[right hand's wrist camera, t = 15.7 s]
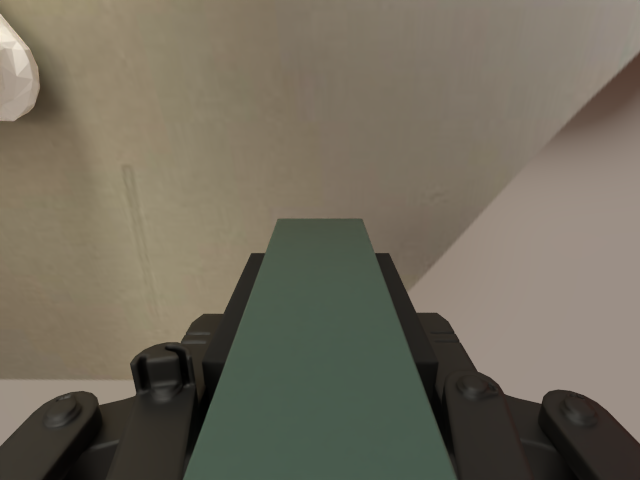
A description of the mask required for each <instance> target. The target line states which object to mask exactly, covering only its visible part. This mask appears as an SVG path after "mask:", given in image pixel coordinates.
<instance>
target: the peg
mask: <svg viewBox="0 0 640 480" xmlns="http://www.w3.org/2000/svg"><path fill="white" fill-rule="evenodd" d="M183 480H458V479H457V476H456V474H455V471H454V468H453V465H452V463H451V460H450V457H449V455H448V452H447V449H446V446H445V444H444V441H443V438H442V435H441V433H440V430H439V427H438V425H437V422H436V419H435V416H434V414H433V411H432V408H431V405H430V403H429V400H428V397H427V394H426V392H425V389H424V386H423V384H422V381H421V378H420V375H419V373H418V370H417V367H416V364H415V362H414V359H413V356H412V353H411V351H410V348H409V345H408V343H407V340H406V337H405V334H404V332H403V329H402V326H401V323H400V321H399V318H398V315H397V313H396V310H395V307H394V304H393V302H392V299H391V296H390V293H389V291H388V288H387V285H386V282H385V280H384V277H383V274H382V272H381V269H380V266H379V263H378V261H377V258H376V255H375V252H374V250H373V247H372V244H371V241H370V239H369V236H368V233H367V231H366V228H365V225H364V222H363V220H362V219H278V220H277V223H276V226H275V228H274V231H273V234H272V237H271V239H270V242H269V245H268V248H267V250H266V253H265V256H264V259H263V261H262V264H261V267H260V269H259V272H258V275H257V278H256V280H255V283H254V286H253V289H252V291H251V294H250V297H249V300H248V302H247V305H246V308H245V311H244V313H243V316H242V319H241V322H240V324H239V327H238V330H237V333H236V335H235V338H234V341H233V344H232V346H231V349H230V352H229V355H228V357H227V360H226V363H225V366H224V368H223V371H222V374H221V377H220V379H219V382H218V385H217V387H216V390H215V393H214V396H213V398H212V401H211V404H210V407H209V409H208V412H207V415H206V418H205V420H204V423H203V426H202V429H201V431H200V434H199V437H198V440H197V442H196V445H195V448H194V451H193V453H192V456H191V459H190V462H189V464H188V467H187V470H186V473H185V475H184V478H183Z"/></svg>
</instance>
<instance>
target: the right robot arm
mask: <svg viewBox="0 0 640 480" xmlns="http://www.w3.org/2000/svg"><path fill="white" fill-rule="evenodd" d="M375 255H376V258H377V261H378V263H379V266H380V269H381V272H382V274H383V277H384V280H385V282H386V285H387V288H388V291H389V293H390V296H391V299H392V302H393V304H394V307H395V310H396V313H397V315H398V318H399V321H400V323H401V326H402V329H403V332H404V334H405V337H406V340H407V343H408V345H409V348H410V351H411V353H412V356H413V359H414V362H415V364H416V367H417V370H418V373H419V375H420V378H421V381H422V384H423V386H424V389H425V392H426V394H427V397H428V400H429V403H430V405H431V408H432V411H433V414H434V416H435V419H436V422H437V425H438V427H439V430H440V433H441V435H442V438H443V441H444V444H445V446H446V449H447V452H448V455H449V457H450V460H451V463H452V465H453V468H454V471H455V474H456V476H457V479H458V480H640V444H639V443H638V442H637V441H636V440H635V439H634V438H633V437H632V435H631V434H630V433H629V432H628V431H627V430H626V429H625V428H624V427H623V426H622V425H621V424H620V423H619V422H618V421H617V420H616V419H615V418H614V417H613V416H612V415H611V414H610V413H609V412H608V411H607V410H606V409H604V408H603V407H602V406H601V405H599V404H598V403H597V402H595V401H593V400H591V399H590V398H588V397H586V396H584V395H581V394H578V393H575V392H572V391H566V390H554V391H549V392H548V393H547V394H546V395H545V396H544V397H543V401H542V404H539V403H535V402H531V401H527V400H522V399H518V398H514V397H511V396H508V395H505V394H504V393H503V391H502V389H501V388H500V386H499V385H498V384H497V383H496V382H495V381H494V380H492V379H491V378H490V377H488V376H486V375H484V374H482V373H480V372H478V371H477V370H476V368H475V366H474V365H473V363H472V361H471V359H470V358H469V356H468V354H467V353H466V351H465V349H464V348H463V346H462V344H461V343H460V342H459V339H458V337H457V336H456V334H454V330H453V329H452V327H451V325H450V324H449V322H448V321H447V320H446V319H444V318H443V317H442V316H440V315H439V314H438V313H416V311H415V309H414V307H413V305H412V303H411V301H410V298H409V296H408V294H407V292H406V289H405V287H404V285H403V283H402V281H401V279H400V276H399V274H398V272H397V270H396V268H395V265H394V263H393V261H392V259H391V257H390V255H389V253H375ZM264 256H265V253H251V255H250V257H249V259H248V262H247V264H246V266H245V268H244V270H243V272H242V275H241V277H240V279H239V281H238V283H237V286H236V288H235V290H234V292H233V294H232V296H231V299H230V301H229V303H228V305H227V307H226V310H225V312H224V314H203V315H202V316H200V317H199V318H198V319H196V320H195V321H194V322H192V324H191V325H190V327H189V329H188V331H187V332H186V335H185V336H184V337H183V339H182V341H181V343H178V342H166V343H162V344H157V345H154V346H152V347H149V348H147V349H145V350H143V351H142V352H141V353H139V354H138V355H137V356H135V358H134V359H133V360H132V362H131V363H130V366H131V370H132V375H133V379H134V384H135V388H136V396H134V397H131V398H127V399H124V400H120V401H116V402H111V403H107V404H103V405H99V403H98V399H97V397H96V396H94V395H93V394H92V393H89V392H84V391H79V392H70V393H67V394H64V395H61V396H58V397H56V398H54V399H52V400H50V401H48V402H47V403H45V404H43V405H42V406H41V407H40V408H38V409H37V410H36V411H35V412H33V413H32V414H31V416H30V417H29V418H28V419H27V420H26V421H25V422H24V423H23V424H22V425H21V426H20V427H19V428H18V429H17V430H16V431H15V432H14V433H13V434H12V435H11V436H10V437H9V438H8V439H7V440H6V441H5V442H4V443H3V444H2V445H1V446H0V480H183V478H184V475H185V473H186V470H187V467H188V464H189V462H190V459H191V456H192V453H193V451H194V448H195V445H196V442H197V440H198V437H199V434H200V431H201V429H202V426H203V423H204V420H205V418H206V415H207V412H208V409H209V407H210V404H211V401H212V398H213V396H214V393H215V390H216V387H217V385H218V382H219V379H220V377H221V374H222V371H223V368H224V366H225V363H226V360H227V357H228V355H229V352H230V349H231V346H232V344H233V341H234V338H235V335H236V333H237V330H238V327H239V324H240V322H241V319H242V316H243V313H244V311H245V308H246V305H247V302H248V300H249V297H250V294H251V291H252V289H253V286H254V283H255V280H256V278H257V275H258V272H259V269H260V267H261V264H262V261H263V259H264Z"/></svg>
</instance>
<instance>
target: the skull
mask: <svg viewBox="0 0 640 480" xmlns="http://www.w3.org/2000/svg"><path fill="white" fill-rule="evenodd" d="M39 90H40V83H39V73H38V66H37V64H36V62H35V59H34V57H33V55H32V52H31V50H30V48H29V47H28V46H27V45H26V44H25V43H24V41H23V40H22V39H21V38H20V37H19V36H18V34H17V33H16V32H15V31H14V30H13V28H12V27H11V26H10V25H9V24H8V22H7V21H6V20H5V19H4V18H3V16H2V15H1V14H0V121H15V120H16V119H17V118H19V117H21V116H23V115H25V114H27V113H28V112H29V111H30V110H31V109H32V108H33V107H34V105H35V102H36V99H37V96H38V93H39Z"/></svg>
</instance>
